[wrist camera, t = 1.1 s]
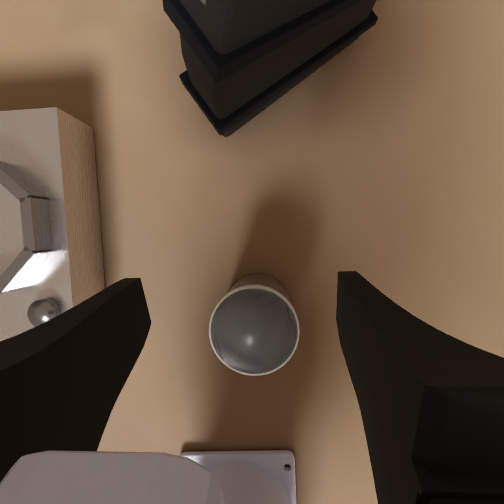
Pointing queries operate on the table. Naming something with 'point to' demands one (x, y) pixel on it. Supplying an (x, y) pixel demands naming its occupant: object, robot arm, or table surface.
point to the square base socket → (46, 217)
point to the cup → (254, 326)
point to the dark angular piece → (258, 49)
